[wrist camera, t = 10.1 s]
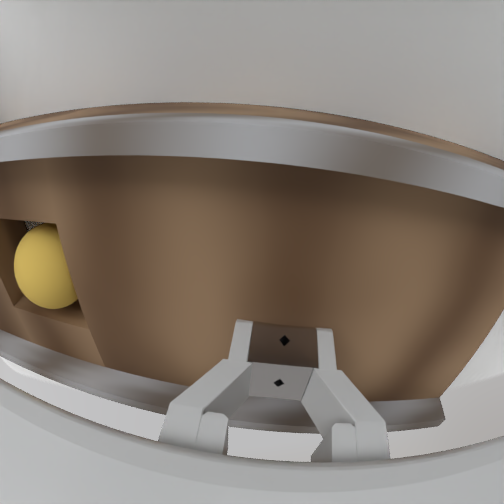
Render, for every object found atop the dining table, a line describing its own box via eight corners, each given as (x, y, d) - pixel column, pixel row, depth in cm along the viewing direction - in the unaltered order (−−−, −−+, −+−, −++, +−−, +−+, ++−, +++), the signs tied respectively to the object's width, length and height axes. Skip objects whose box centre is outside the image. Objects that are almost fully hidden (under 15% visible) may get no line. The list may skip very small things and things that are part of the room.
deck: (514, 165, 9) (579, 211, 5) (421, 365, 16) (438, 426, 12) (-32, 132, 11) (-88, 161, 7) (19, 307, 18) (-13, 349, 14)
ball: (55, 255, 9) (-13, 251, 9) (83, 332, 12) (18, 321, 11) (95, 207, 13) (31, 208, 13) (110, 276, 15) (50, 272, 15)
